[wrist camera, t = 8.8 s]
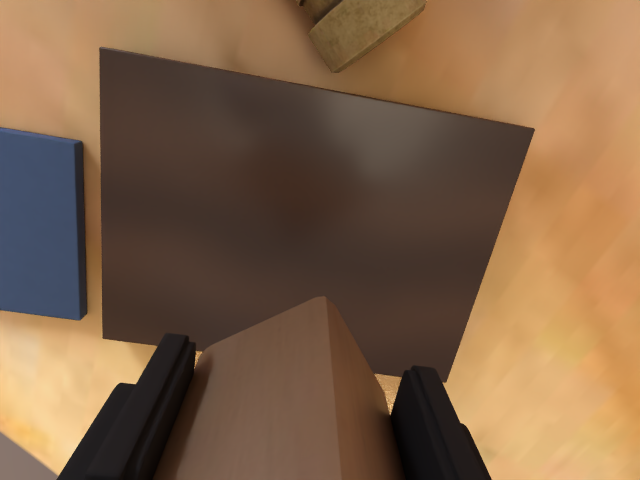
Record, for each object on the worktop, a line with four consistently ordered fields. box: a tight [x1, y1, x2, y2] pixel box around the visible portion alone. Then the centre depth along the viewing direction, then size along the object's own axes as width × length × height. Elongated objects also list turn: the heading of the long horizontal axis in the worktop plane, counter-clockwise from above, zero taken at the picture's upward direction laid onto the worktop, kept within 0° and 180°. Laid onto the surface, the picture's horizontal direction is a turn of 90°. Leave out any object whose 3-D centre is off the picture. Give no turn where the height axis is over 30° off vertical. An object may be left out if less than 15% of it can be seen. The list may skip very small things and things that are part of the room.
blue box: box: [0, 127, 87, 320], centre depth 21 cm, size 10×7×1 cm
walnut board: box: [99, 47, 535, 383], centre depth 22 cm, size 15×20×2 cm
